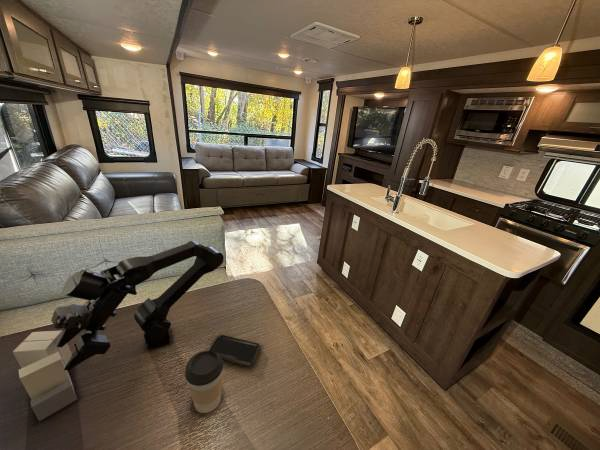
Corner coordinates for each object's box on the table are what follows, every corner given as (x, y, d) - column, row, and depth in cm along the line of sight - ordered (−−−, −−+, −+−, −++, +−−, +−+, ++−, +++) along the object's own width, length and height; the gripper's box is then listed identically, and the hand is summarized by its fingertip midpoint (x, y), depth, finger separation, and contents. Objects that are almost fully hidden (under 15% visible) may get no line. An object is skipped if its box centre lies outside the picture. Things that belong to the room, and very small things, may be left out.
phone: (219, 334, 85) (260, 344, 83) (219, 336, 85) (260, 346, 83) (207, 353, 78) (252, 365, 75) (207, 356, 78) (252, 367, 76)
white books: (74, 360, 73) (62, 330, 68) (59, 380, 68) (45, 349, 63) (46, 362, 72) (32, 332, 67) (28, 383, 66) (12, 351, 61)
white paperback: (71, 382, 67) (58, 351, 63) (74, 390, 66) (61, 358, 61) (35, 401, 62) (18, 369, 58) (37, 410, 61) (19, 378, 56)
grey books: (69, 374, 69) (63, 360, 67) (77, 399, 64) (71, 385, 62) (33, 392, 64) (26, 378, 62) (39, 421, 59) (31, 407, 57)
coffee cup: (204, 426, 61) (200, 386, 55) (181, 403, 65) (175, 364, 59) (232, 395, 68) (230, 357, 62) (209, 376, 72) (206, 339, 66)
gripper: (64, 278, 65) (18, 332, 61) (81, 316, 54) (26, 384, 51) (107, 289, 74) (68, 337, 70) (128, 324, 63) (84, 383, 59)
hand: (62, 358), depth 62 cm, fingers open, 9 cm apart
